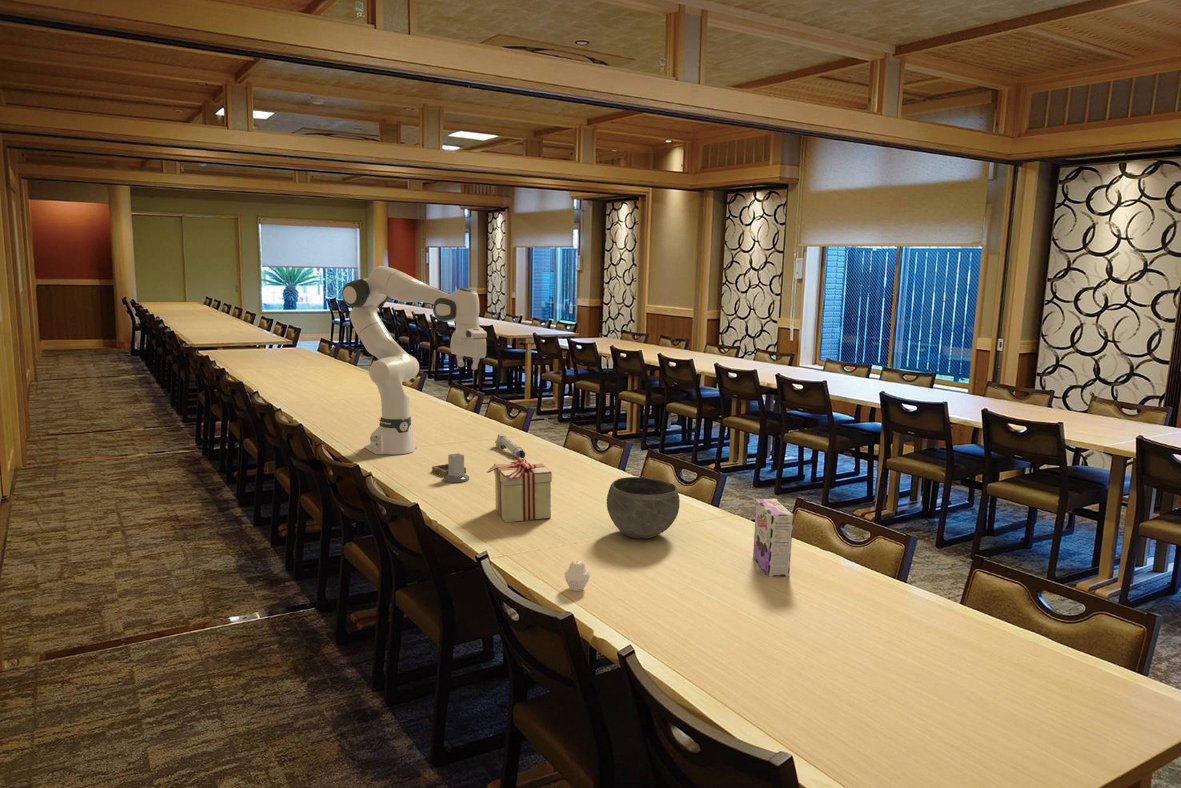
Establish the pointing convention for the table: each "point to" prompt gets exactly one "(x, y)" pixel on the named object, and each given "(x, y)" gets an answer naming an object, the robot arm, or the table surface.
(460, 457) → the steel block
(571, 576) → the beige stone rounded piece
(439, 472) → the socket
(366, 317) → the robot arm
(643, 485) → the bowl
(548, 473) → the gift box
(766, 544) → the candy box
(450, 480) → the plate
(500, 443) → the grey flashlight
